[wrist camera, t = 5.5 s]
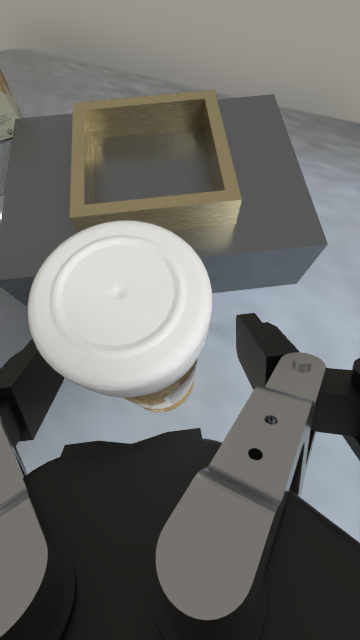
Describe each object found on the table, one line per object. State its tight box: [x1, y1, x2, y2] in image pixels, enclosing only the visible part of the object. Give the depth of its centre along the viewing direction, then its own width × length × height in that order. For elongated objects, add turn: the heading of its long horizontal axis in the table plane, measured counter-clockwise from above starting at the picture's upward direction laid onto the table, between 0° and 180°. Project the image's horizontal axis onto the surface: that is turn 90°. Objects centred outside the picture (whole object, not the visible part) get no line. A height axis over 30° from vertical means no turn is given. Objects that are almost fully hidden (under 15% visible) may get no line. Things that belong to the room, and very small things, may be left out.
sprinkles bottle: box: [28, 220, 212, 412], centre depth 13 cm, size 5×5×13 cm
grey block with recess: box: [0, 90, 327, 307], centre depth 20 cm, size 24×14×7 cm, turn 97°
